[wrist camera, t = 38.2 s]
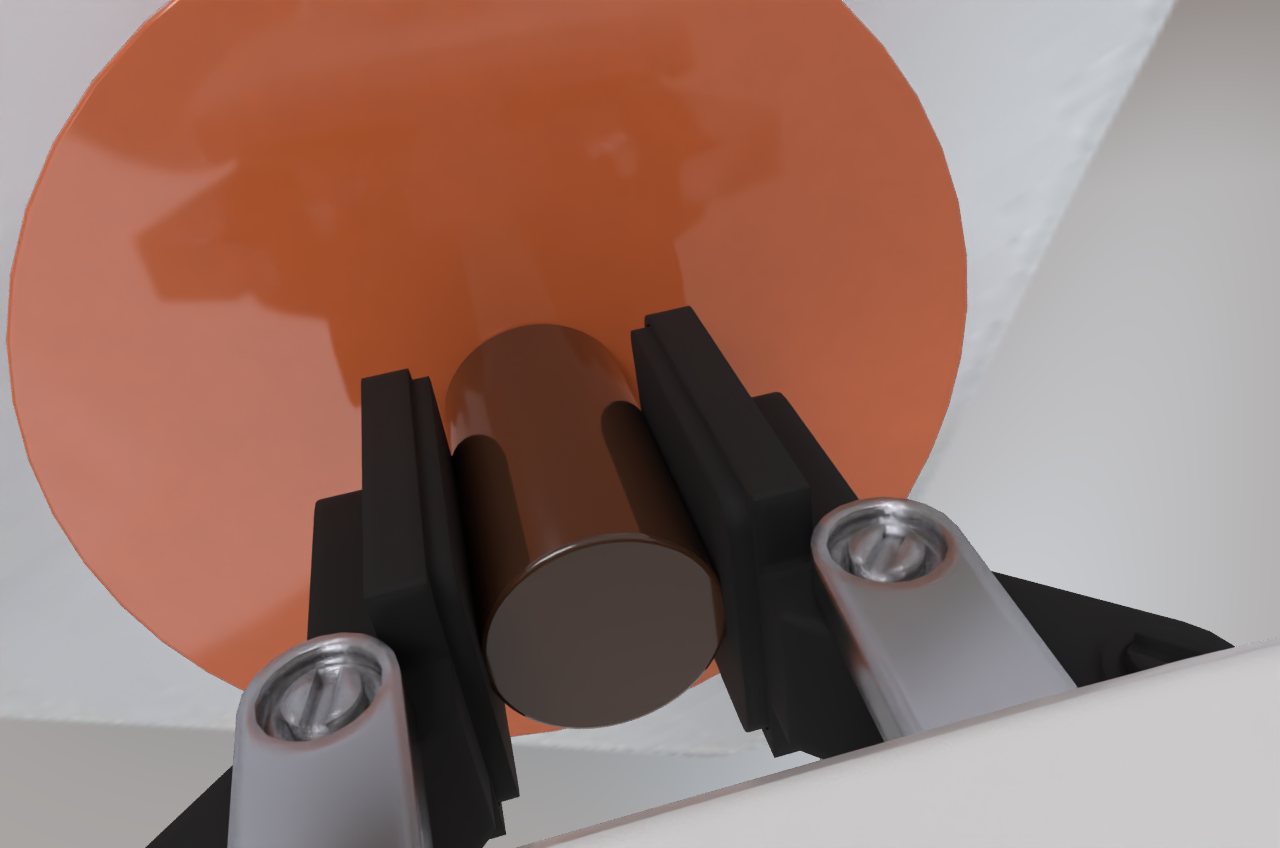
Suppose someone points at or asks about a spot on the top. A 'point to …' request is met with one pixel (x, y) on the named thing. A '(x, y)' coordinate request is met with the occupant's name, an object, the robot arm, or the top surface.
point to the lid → (471, 303)
